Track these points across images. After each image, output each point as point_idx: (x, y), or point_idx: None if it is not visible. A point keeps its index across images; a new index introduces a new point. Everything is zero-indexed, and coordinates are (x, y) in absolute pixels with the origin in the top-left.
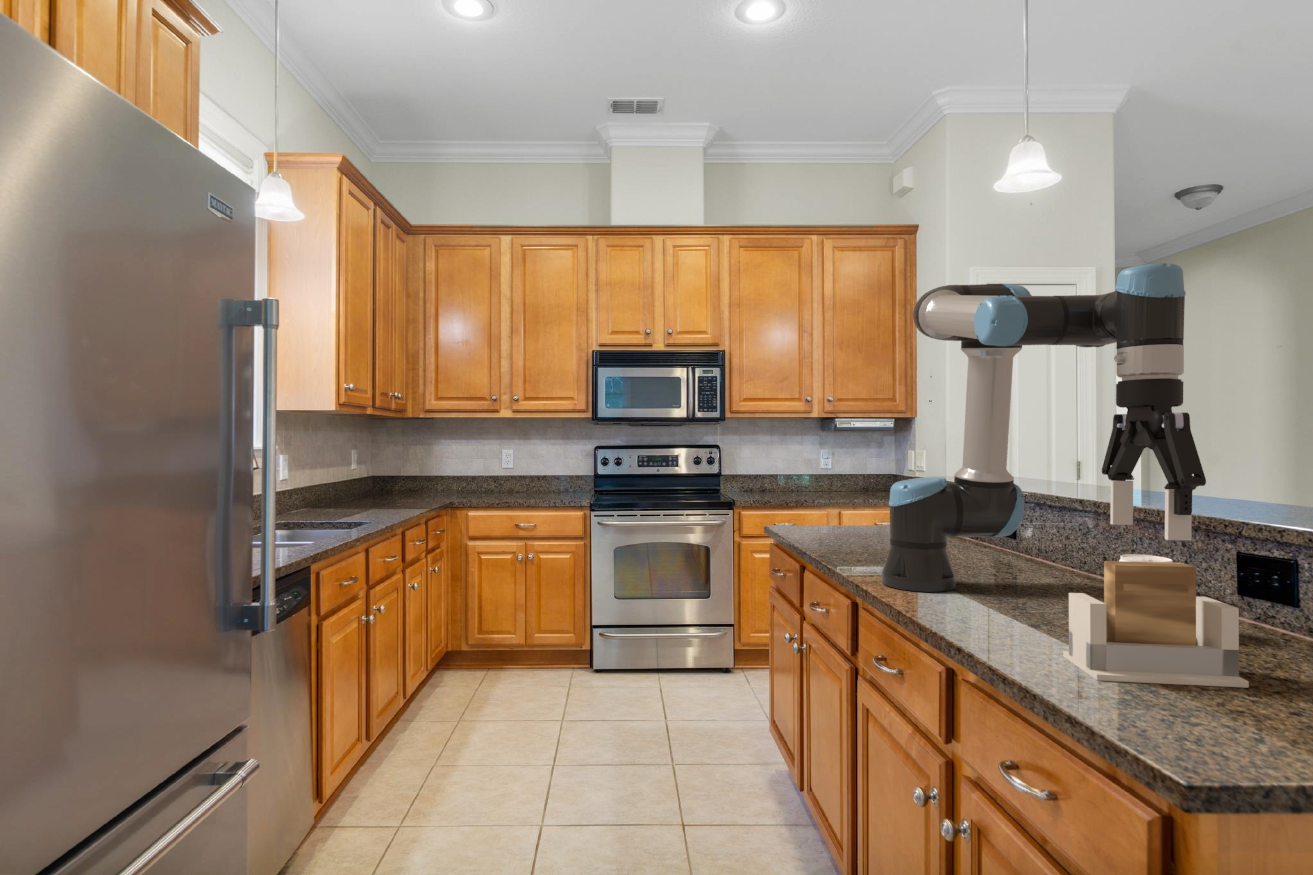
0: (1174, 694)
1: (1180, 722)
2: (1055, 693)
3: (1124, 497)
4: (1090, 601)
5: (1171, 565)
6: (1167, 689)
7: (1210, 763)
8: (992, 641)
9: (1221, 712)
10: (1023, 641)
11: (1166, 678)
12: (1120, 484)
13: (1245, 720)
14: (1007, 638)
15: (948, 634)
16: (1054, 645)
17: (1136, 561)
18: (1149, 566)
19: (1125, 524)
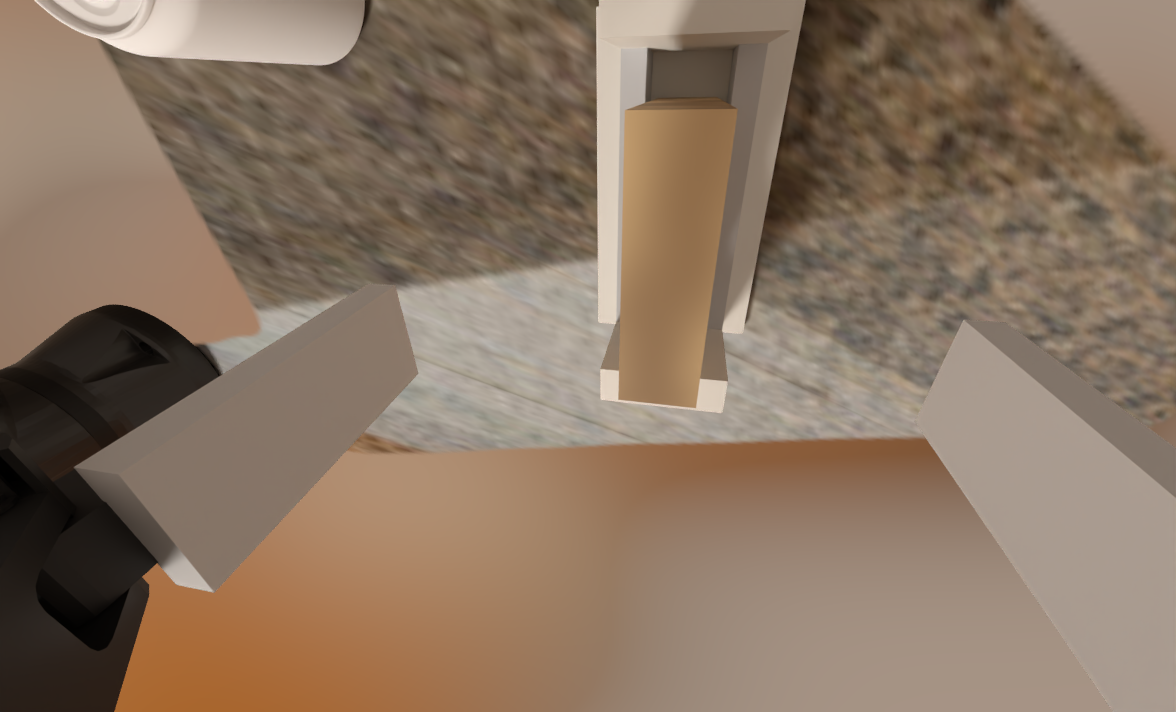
0: (827, 225)
1: (966, 302)
2: (800, 419)
3: (294, 424)
4: (698, 401)
5: (698, 208)
6: (797, 222)
7: (1135, 359)
8: (529, 393)
9: (940, 190)
10: (516, 344)
11: (766, 207)
12: (213, 526)
13: (994, 167)
14: (503, 362)
15: (504, 440)
16: (529, 300)
17: (152, 7)
18: (708, 304)
19: (402, 320)
